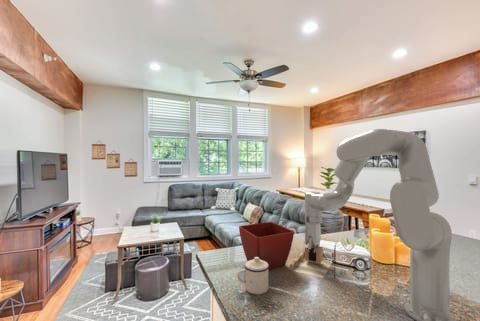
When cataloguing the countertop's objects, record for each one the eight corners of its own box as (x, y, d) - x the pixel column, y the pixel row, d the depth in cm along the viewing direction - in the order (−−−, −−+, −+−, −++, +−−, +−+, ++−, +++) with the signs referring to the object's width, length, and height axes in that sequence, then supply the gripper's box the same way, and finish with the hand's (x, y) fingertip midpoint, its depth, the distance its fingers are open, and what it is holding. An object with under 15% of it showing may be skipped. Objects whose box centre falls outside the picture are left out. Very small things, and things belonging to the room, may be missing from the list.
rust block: (305, 260, 111) (304, 247, 111) (307, 257, 114) (307, 244, 114) (320, 263, 107) (320, 250, 107) (322, 260, 110) (322, 247, 110)
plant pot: (295, 269, 107) (295, 231, 107) (258, 278, 99) (257, 237, 99) (271, 254, 124) (271, 221, 124) (238, 261, 116) (237, 226, 116)
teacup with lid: (266, 281, 96) (266, 252, 96) (271, 294, 87) (271, 262, 87) (236, 283, 95) (236, 253, 95) (238, 296, 86) (237, 263, 86)
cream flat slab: (323, 280, 97) (323, 272, 97) (289, 271, 104) (289, 264, 104) (333, 261, 115) (333, 255, 115) (304, 255, 122) (304, 249, 122)
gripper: (310, 214, 120) (310, 251, 120) (299, 221, 105) (300, 263, 105) (326, 216, 116) (326, 254, 116) (317, 224, 102) (317, 267, 101)
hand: (313, 258), depth 111 cm, fingers closed on rust block, 4 cm apart
